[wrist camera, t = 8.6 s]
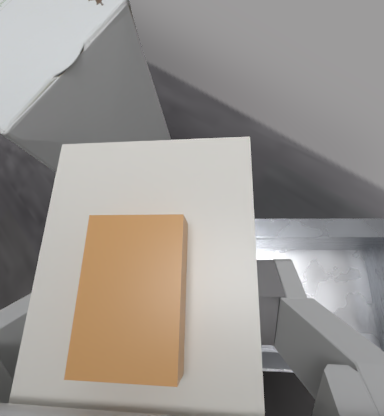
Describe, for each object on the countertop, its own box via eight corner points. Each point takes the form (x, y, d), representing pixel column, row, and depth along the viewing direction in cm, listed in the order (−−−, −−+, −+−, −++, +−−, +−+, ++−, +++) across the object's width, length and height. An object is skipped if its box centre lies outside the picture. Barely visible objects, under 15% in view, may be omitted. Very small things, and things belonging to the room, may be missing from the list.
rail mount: (174, 362, 21) (157, 388, 15) (179, 237, 24) (167, 219, 18) (392, 374, 19) (466, 407, 13) (366, 238, 22) (417, 218, 16)
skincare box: (133, 132, 28) (38, -51, 13) (183, 162, 26) (137, -10, 11) (80, 193, 26) (-97, 62, 11) (130, 230, 24) (-4, 130, 10)
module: (149, 360, 12) (-55, 543, 3) (157, 235, 14) (44, 127, 5) (235, 365, 12) (281, 592, 3) (232, 235, 14) (252, 117, 5)
